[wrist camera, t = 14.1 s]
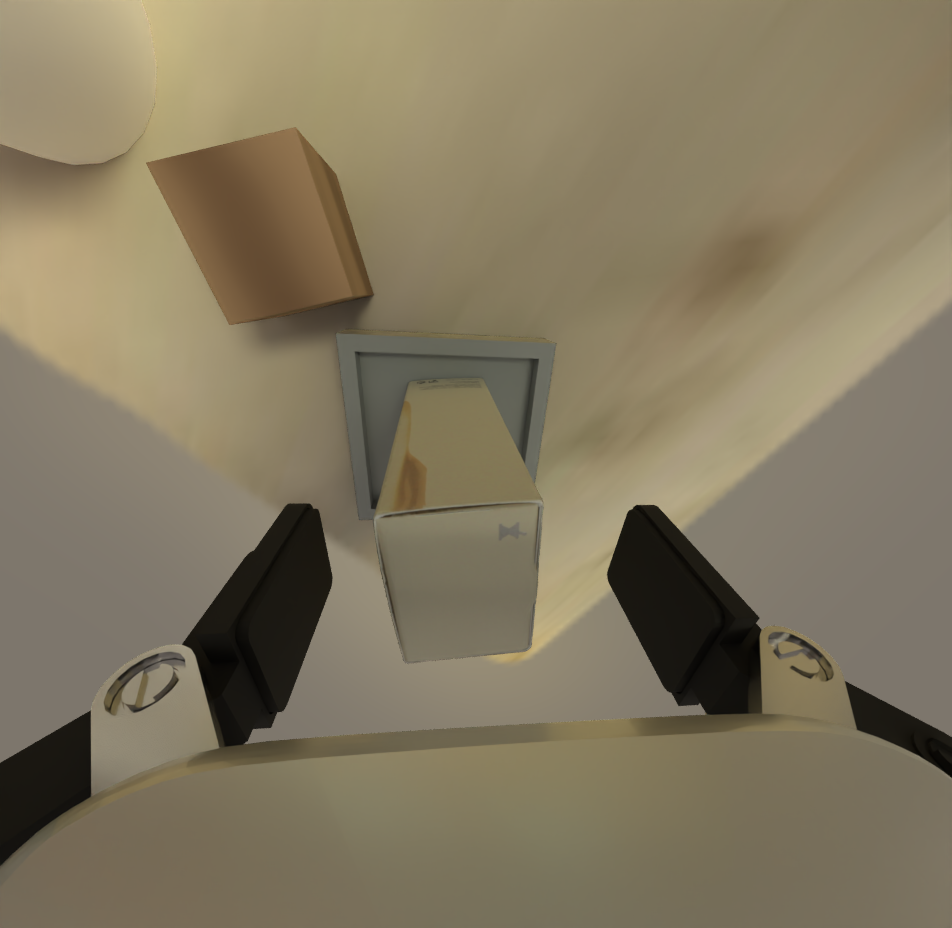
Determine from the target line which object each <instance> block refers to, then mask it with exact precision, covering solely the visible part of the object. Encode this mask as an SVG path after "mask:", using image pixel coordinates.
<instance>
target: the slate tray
mask: <svg viewBox="0 0 952 928" xmlns="http://www.w3.org/2000/svg"><path fill="white" fill-rule="evenodd" d="M336 340H337V348H338V356H339V364H340V372H341V380H342V388H343V396H344V404H345V412H346V420H347V428H348V436H349V444H350V452H351V460H352V468H353V476H354V484H355V492H356V500H357V508H358V516H359V520H373V518H374V513H375V510H376V507H377V504H378V500H379V496H380V493H381V489H382V485H383V481H384V477H385V473H386V470H387V466H388V462H389V458H390V454H391V450H392V446H393V442H394V438H395V434H396V430H397V426H398V422H399V418H400V414H401V411H402V407H403V403H404V399H405V395H406V390H407V387H408V383H409V382H411V381H419V380H431V379H451V378H482V379H483V380H484V382H485V384H486V386H487V388H488V390H489V392H490V394H491V396H492V398H493V400H494V402H495V404H496V406H497V408H498V410H499V412H500V415H501V417H502V419H503V421H504V423H505V425H506V427H507V429H508V431H509V433H510V435H511V437H512V439H513V441H514V443H515V445H516V447H517V449H518V451H519V453H520V455H521V457H522V459H523V461H524V464H525V466H526V468H527V470H528V472H529V474H530V476H531V478H532V480H533V482H534V484H535V479H536V472H537V466H538V459H539V453H540V446H541V440H542V433H543V427H544V420H545V414H546V407H547V401H548V394H549V388H550V381H551V375H552V368H553V362H554V355H555V349H556V343H554V342H552V341H550V340H547V339H545V338H528V337H507V336H486V335H465V334H444V333H423V332H401V331H380V330H359V329H345V330H343V331H340V332H338V333H336Z"/></svg>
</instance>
